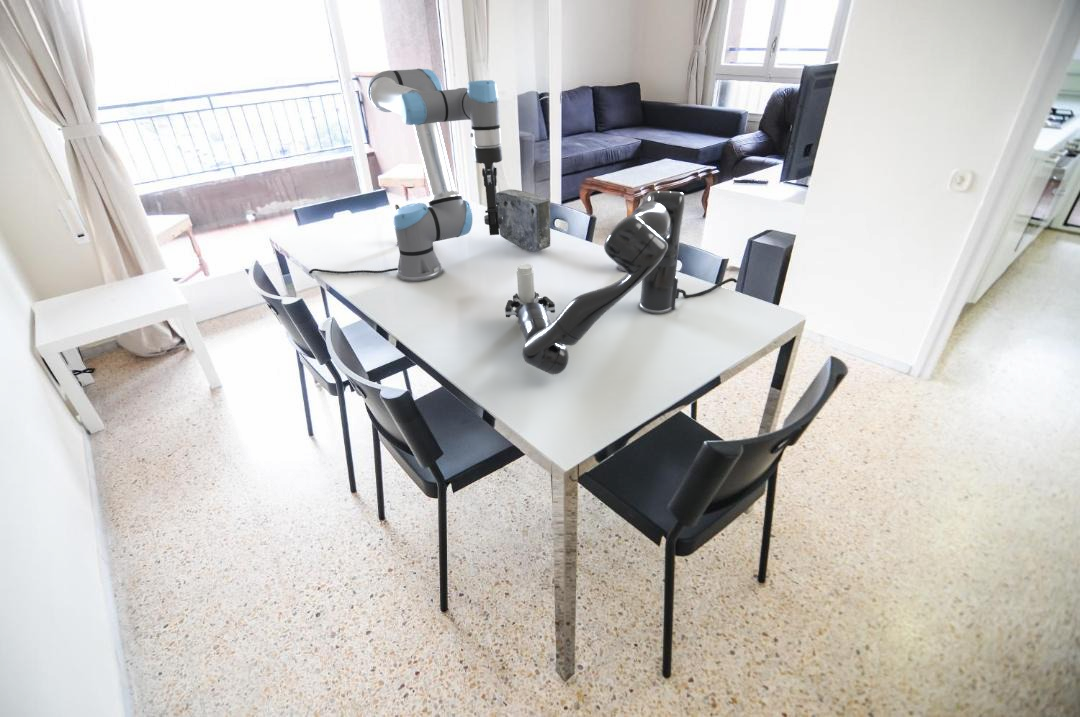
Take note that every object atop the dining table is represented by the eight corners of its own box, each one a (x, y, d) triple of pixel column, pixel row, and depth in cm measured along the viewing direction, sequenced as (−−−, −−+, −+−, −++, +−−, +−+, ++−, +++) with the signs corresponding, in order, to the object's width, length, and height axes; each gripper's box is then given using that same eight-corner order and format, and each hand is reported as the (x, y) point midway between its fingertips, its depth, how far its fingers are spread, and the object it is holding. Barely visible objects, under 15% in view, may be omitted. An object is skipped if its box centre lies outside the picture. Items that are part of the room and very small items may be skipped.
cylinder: (520, 325, 140) (517, 269, 131) (519, 318, 144) (515, 263, 135) (536, 323, 141) (534, 268, 132) (534, 316, 144) (532, 262, 136)
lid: (503, 219, 146) (503, 213, 145) (502, 224, 142) (502, 218, 141) (485, 220, 146) (484, 214, 145) (484, 225, 142) (483, 219, 141)
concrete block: (555, 253, 189) (554, 199, 179) (537, 258, 185) (534, 204, 174) (517, 236, 208) (514, 187, 197) (499, 241, 203) (495, 191, 193)
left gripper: (475, 142, 141) (483, 223, 153) (471, 152, 125) (480, 242, 137) (501, 140, 141) (507, 222, 153) (501, 150, 126) (507, 240, 138)
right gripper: (561, 306, 126) (549, 280, 140) (505, 312, 124) (499, 285, 138) (562, 332, 130) (550, 305, 144) (507, 338, 128) (501, 310, 142)
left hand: (494, 231), depth 145 cm, fingers closed on lid, 5 cm apart
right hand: (525, 295), depth 141 cm, fingers closed on cylinder, 4 cm apart
